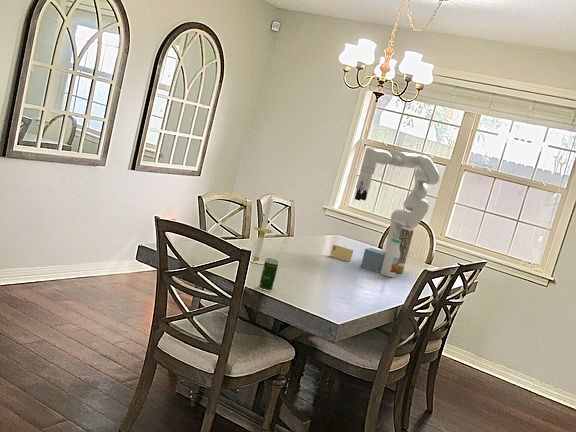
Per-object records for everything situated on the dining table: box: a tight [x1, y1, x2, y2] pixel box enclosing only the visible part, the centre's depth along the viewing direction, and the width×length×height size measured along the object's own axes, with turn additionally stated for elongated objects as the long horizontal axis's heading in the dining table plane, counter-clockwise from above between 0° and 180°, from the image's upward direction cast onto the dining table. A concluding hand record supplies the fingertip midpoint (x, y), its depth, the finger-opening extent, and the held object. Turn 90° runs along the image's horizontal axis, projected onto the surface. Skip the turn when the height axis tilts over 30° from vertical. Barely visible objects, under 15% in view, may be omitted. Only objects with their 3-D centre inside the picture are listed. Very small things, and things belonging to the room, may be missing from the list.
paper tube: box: [396, 227, 415, 274], centre depth 373 cm, size 7×7×25 cm
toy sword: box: [253, 193, 273, 262], centre depth 311 cm, size 10×10×32 cm
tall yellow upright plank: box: [329, 243, 354, 262], centre depth 373 cm, size 1×12×6 cm, turn 65°
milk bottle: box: [380, 238, 401, 278], centre depth 356 cm, size 8×8×20 cm
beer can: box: [258, 257, 279, 291], centre depth 266 cm, size 5×5×12 cm
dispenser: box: [360, 247, 386, 273], centre depth 365 cm, size 10×10×10 cm
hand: (360, 199), depth 381 cm, fingers open, 9 cm apart
